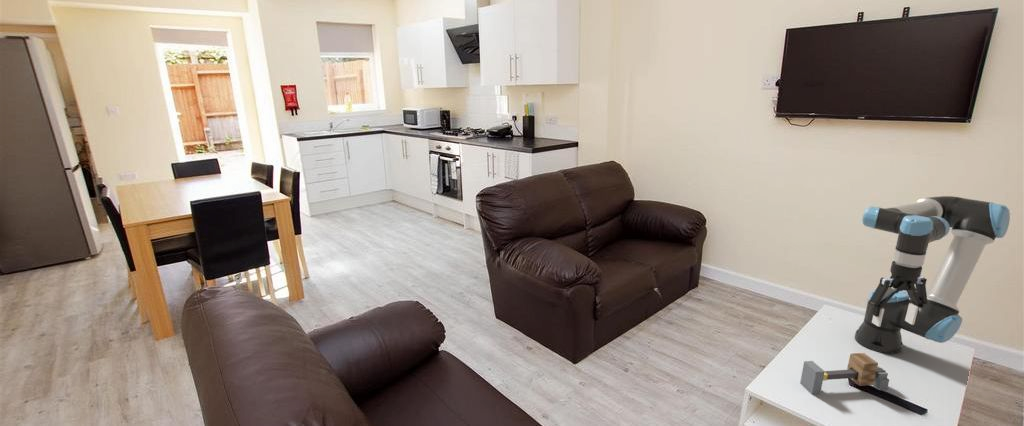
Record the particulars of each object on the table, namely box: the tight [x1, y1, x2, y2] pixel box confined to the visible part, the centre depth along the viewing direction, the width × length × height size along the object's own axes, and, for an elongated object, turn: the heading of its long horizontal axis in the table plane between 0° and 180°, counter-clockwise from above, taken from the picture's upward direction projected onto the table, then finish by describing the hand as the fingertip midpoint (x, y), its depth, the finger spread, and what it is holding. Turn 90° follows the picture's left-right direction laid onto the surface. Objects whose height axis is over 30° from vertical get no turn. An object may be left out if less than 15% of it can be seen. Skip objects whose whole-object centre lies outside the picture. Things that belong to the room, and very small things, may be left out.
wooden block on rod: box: [846, 352, 879, 387], centre depth 159 cm, size 5×6×9 cm
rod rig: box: [799, 360, 890, 395], centre depth 159 cm, size 27×6×9 cm, turn 93°
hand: (892, 323), depth 154 cm, fingers open, 11 cm apart
